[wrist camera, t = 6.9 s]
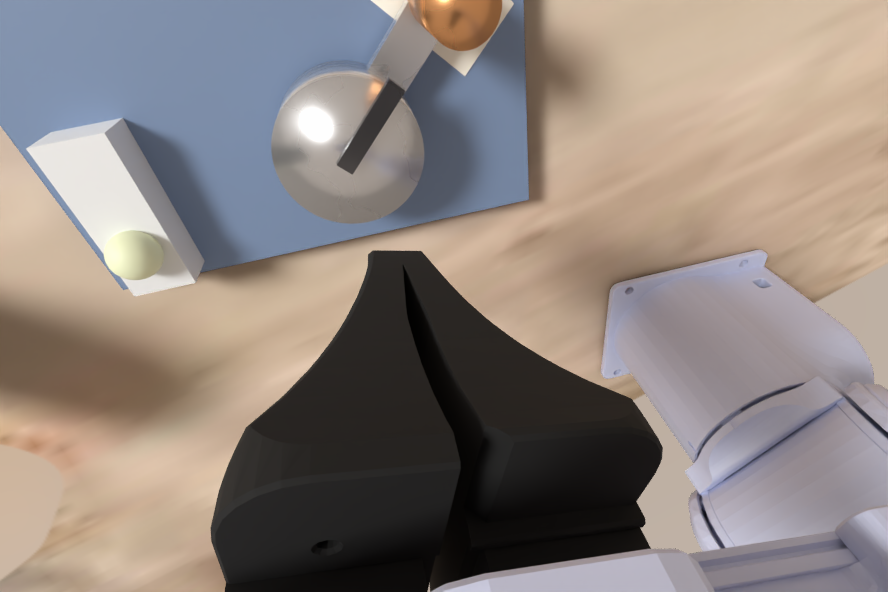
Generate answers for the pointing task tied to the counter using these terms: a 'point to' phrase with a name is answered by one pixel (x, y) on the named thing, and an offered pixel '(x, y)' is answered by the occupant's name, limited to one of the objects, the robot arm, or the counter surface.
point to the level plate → (233, 123)
